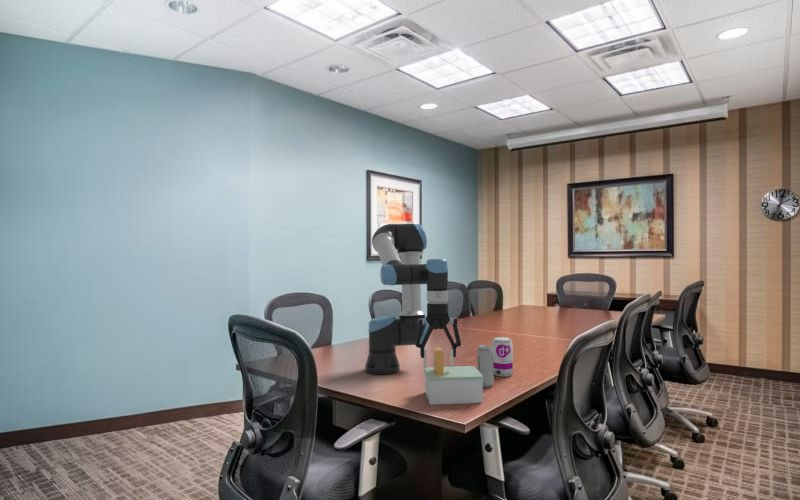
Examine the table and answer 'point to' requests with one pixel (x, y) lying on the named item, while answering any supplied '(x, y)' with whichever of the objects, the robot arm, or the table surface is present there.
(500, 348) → the supplement can
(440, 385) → the tub
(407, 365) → the table surface
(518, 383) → the table surface
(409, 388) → the table surface
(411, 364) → the table surface
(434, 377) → the lid
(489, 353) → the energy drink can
